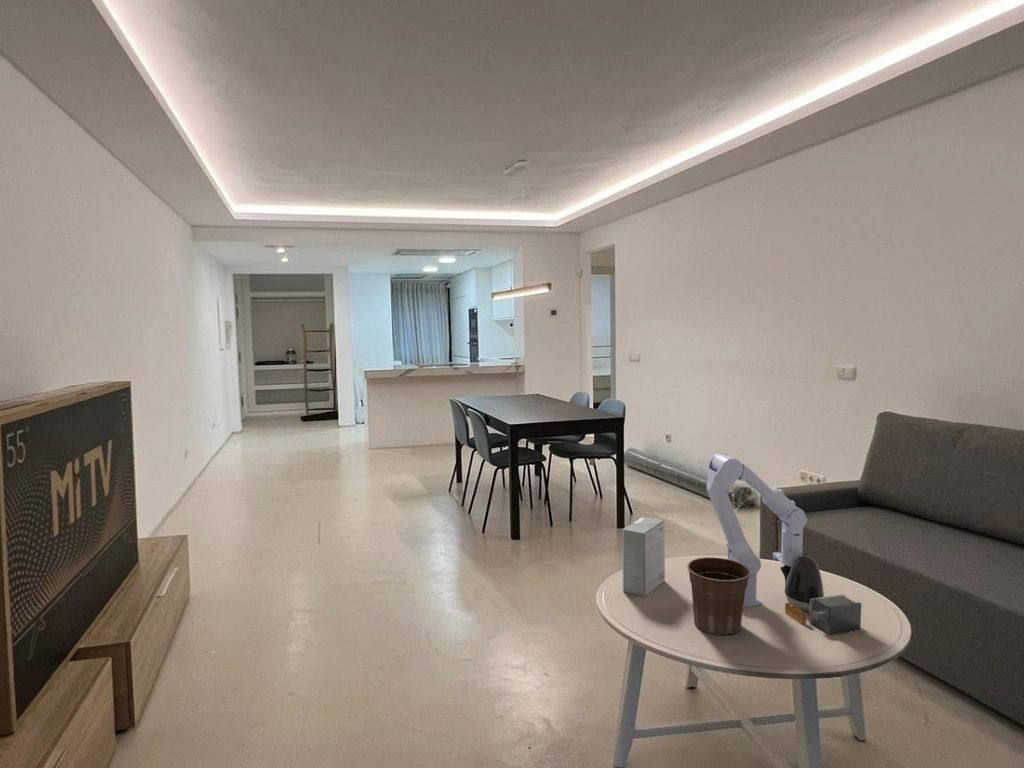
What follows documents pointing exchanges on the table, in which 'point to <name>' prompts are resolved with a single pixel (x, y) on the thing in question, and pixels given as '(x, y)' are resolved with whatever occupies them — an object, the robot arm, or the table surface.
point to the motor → (829, 614)
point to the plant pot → (718, 594)
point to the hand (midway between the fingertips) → (791, 590)
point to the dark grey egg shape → (803, 582)
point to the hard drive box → (643, 556)
